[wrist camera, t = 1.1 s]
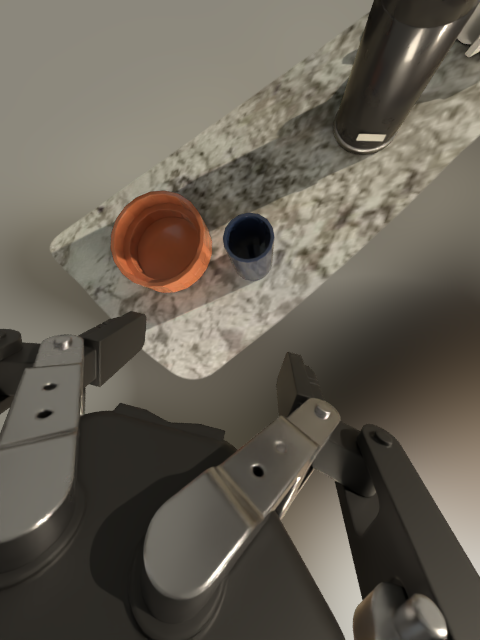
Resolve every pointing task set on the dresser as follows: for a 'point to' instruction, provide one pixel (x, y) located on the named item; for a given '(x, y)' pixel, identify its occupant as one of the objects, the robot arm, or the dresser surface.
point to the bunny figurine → (472, 33)
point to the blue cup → (250, 245)
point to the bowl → (161, 242)
